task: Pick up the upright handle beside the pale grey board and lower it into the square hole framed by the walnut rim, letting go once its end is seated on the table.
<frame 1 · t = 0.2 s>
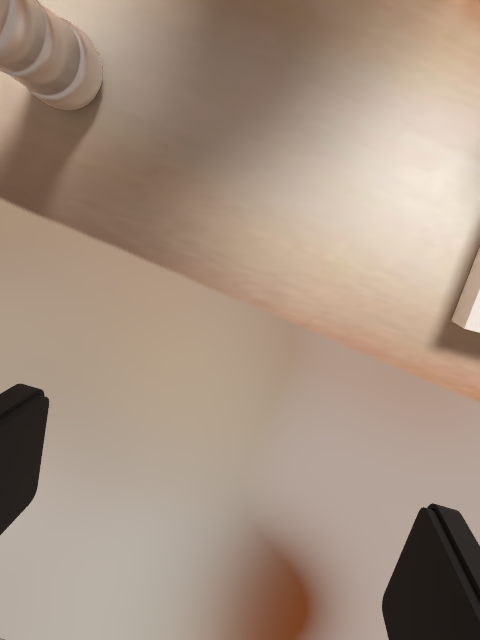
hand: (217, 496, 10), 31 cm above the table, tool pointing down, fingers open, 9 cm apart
plastic bottle: (78, 77, 38), on the table
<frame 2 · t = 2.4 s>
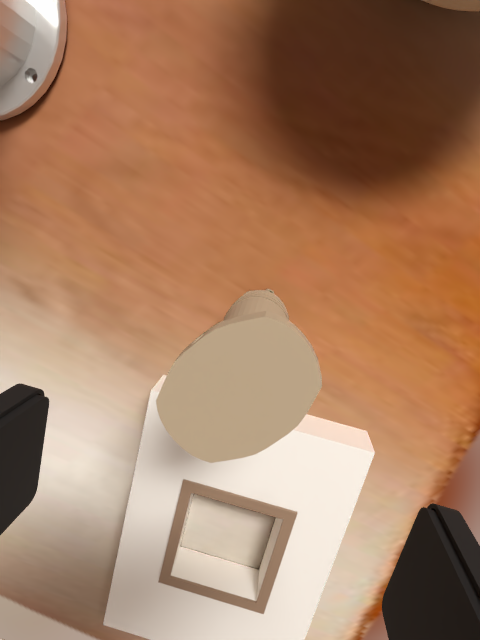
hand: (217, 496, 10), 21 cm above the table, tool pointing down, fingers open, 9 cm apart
handle: (261, 308, 30), on the table
socket board: (230, 519, 34), on the table
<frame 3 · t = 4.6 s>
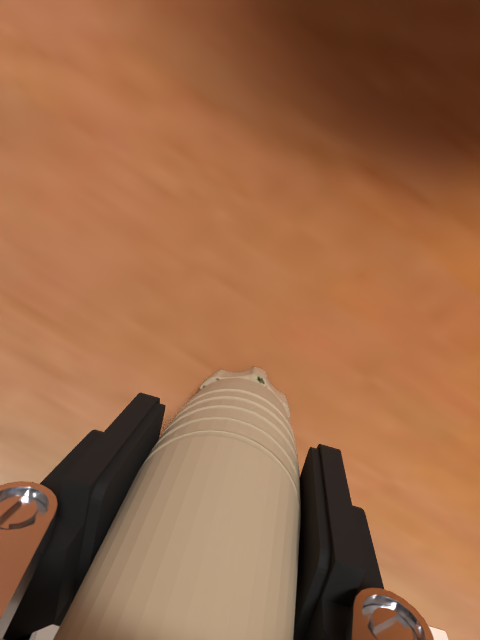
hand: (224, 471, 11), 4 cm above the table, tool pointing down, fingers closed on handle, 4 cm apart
handle: (243, 401, 15), on the table, touching gripper
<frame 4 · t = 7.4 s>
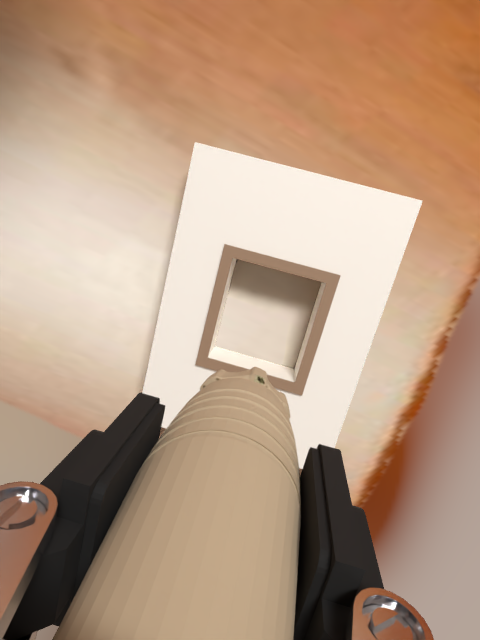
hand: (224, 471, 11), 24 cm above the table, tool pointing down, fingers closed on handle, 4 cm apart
handle: (243, 401, 15), point 19 cm above the table, touching gripper
socket board: (266, 313, 34), on the table
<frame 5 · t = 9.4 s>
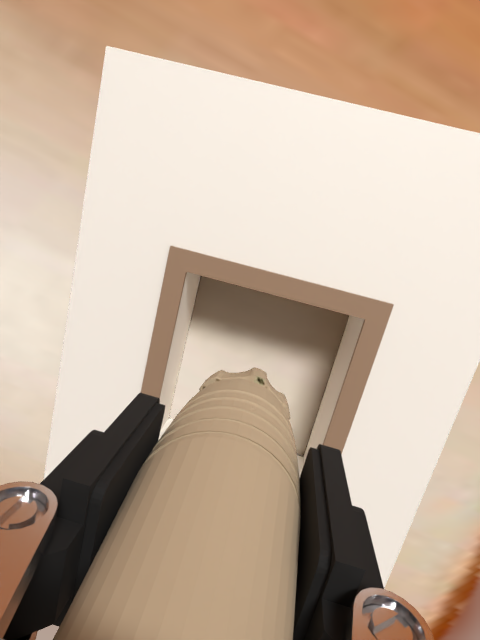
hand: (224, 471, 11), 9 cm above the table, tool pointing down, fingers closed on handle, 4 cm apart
handle: (243, 401, 15), point 5 cm above the table, touching gripper
socket board: (255, 364, 20), on the table
when the fingers open (5 cm above the table, at t = 10.5 s): handle stays where it is, resting in socket board.
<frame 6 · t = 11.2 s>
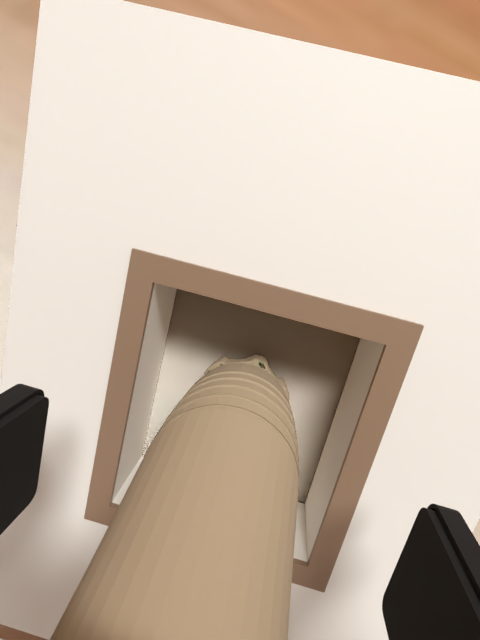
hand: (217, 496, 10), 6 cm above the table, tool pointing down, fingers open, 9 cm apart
handle: (245, 386, 16), resting in socket board
socket board: (245, 392, 16), on the table
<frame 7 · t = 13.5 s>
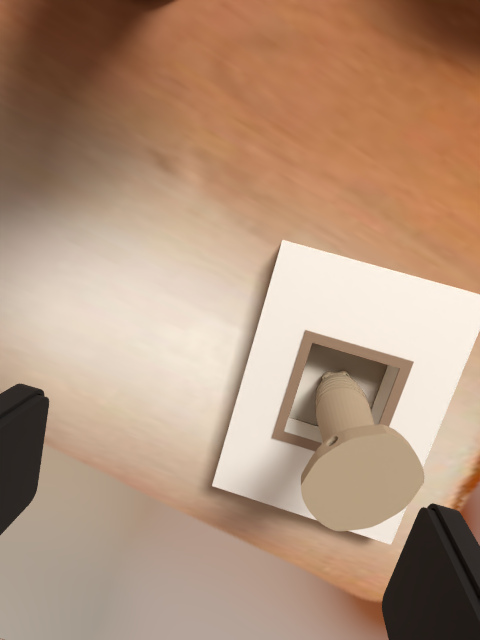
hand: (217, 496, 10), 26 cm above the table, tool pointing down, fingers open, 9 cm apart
handle: (335, 385, 36), resting in socket board
socket board: (336, 387, 36), on the table
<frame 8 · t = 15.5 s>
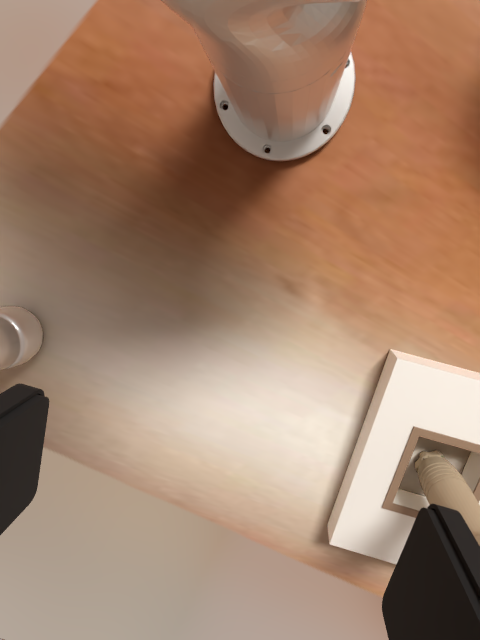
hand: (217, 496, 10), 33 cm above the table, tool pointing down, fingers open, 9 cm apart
handle: (428, 460, 45), resting in socket board
socket board: (429, 463, 44), on the table
plastic bottle: (25, 330, 47), on the table
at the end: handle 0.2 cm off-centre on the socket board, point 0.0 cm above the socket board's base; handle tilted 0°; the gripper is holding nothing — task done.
